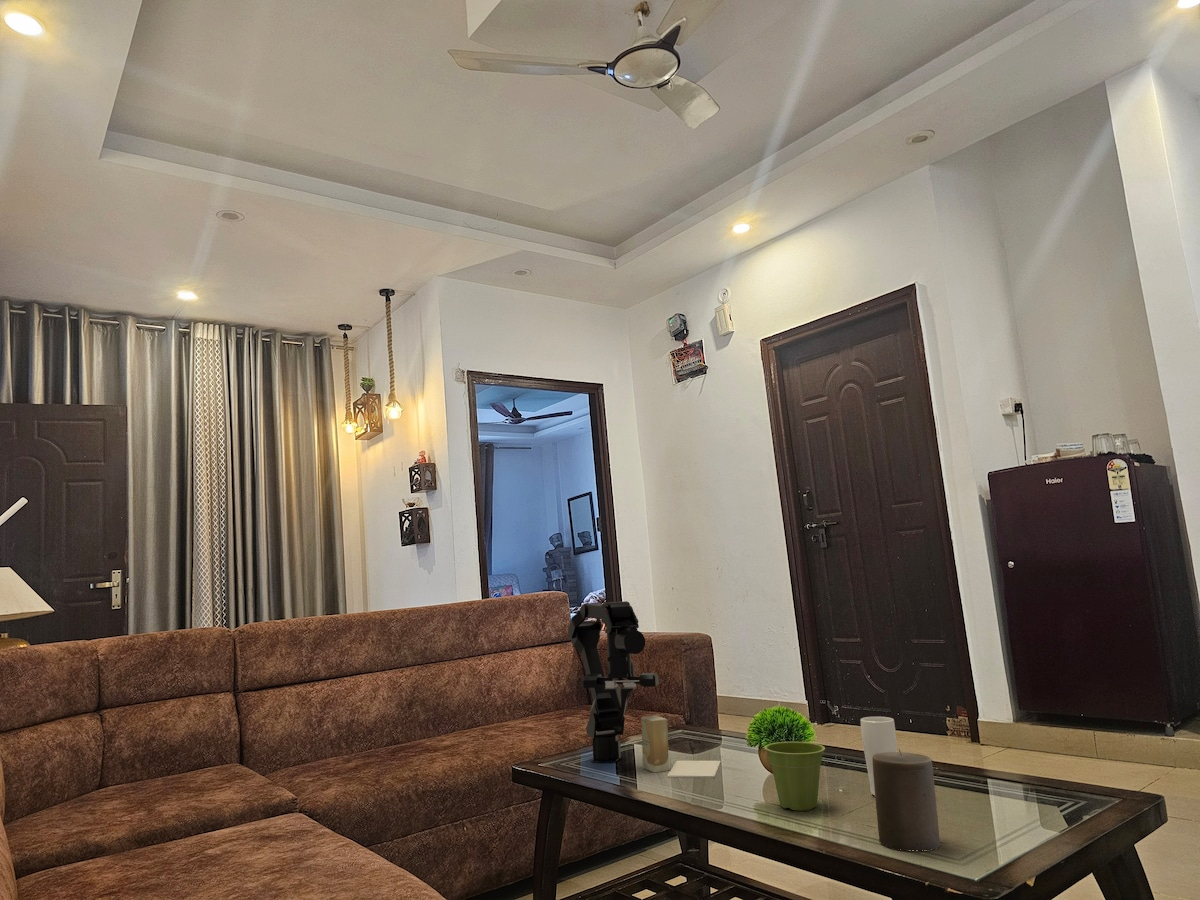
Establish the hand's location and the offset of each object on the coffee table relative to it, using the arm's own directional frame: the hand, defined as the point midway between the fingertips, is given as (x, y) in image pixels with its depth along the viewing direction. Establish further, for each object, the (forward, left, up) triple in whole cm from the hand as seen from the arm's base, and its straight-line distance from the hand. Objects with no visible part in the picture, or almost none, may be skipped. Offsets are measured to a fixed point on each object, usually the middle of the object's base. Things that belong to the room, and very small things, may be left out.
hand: (622, 716), depth 199 cm
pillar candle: (+60, -52, -13) cm, 80 cm away
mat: (+17, 0, -13) cm, 21 cm away
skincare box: (+8, 0, -13) cm, 15 cm away
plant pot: (+42, -31, -13) cm, 54 cm away
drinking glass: (+59, -22, -13) cm, 64 cm away
